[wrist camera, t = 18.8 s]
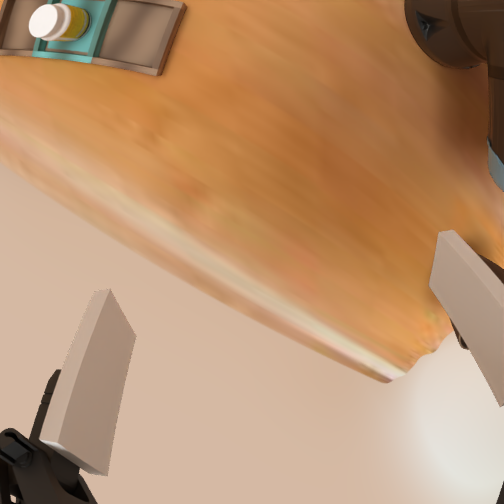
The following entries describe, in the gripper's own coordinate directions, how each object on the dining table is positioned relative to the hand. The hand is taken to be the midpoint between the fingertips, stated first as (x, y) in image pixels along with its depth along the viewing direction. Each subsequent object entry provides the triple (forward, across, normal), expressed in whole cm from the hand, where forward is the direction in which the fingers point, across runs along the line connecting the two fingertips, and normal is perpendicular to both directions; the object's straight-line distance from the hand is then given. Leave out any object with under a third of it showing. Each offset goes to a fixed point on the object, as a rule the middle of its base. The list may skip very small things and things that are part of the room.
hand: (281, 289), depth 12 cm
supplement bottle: (+31, -18, +20) cm, 41 cm away
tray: (+32, -18, +20) cm, 42 cm away
